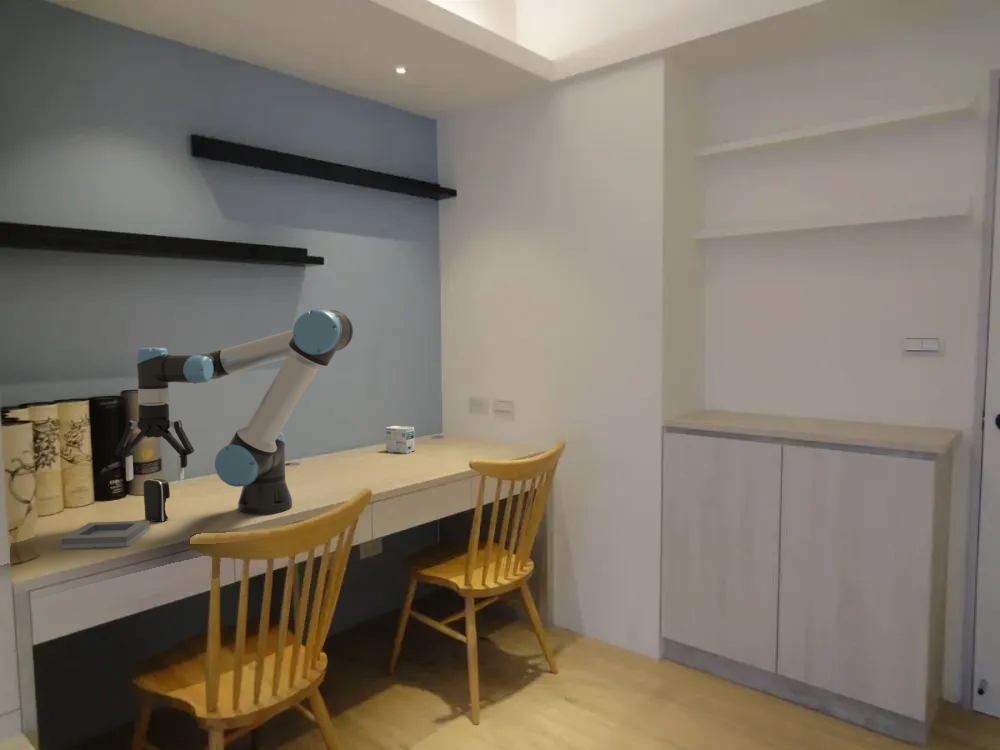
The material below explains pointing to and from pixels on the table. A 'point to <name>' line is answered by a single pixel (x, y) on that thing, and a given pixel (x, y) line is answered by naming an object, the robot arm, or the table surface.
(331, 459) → the table surface
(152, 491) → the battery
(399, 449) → the light bulb box
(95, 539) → the dock
